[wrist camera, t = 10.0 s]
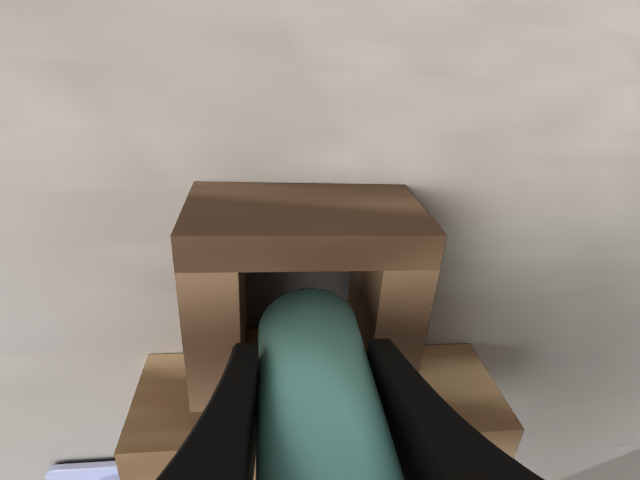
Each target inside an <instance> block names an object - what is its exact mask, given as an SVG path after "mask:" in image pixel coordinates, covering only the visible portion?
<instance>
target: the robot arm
mask: <svg viewBox="0 0 640 480" xmlns="http://www.w3.org/2000/svg"><path fill="white" fill-rule="evenodd" d="M367 357H368V360H369V364H370V367H371V370H372V374H373V377H374V380H375V383H376V387H377V390H378V393H379V397H380V400H381V403H382V407H383V410H384V413H385V416H386V420H387V423H388V426H389V430H390V433H391V436H392V440H393V443H394V446H395V450H396V453H397V456H398V459H399V463H400V466H401V469H402V473H403V476H404V479H405V480H544V479H542V478H541V477H539V476H538V475H536V474H535V473H533V472H532V471H530V470H529V469H527V468H526V467H524V466H523V465H522V464H520V463H519V462H517V461H516V460H515V459H513V458H512V457H511V456H509V455H508V454H506V453H505V452H504V451H502V450H501V449H500V448H498V447H497V446H496V445H494V444H493V443H492V442H491V441H489V440H488V439H487V438H486V437H485V436H483V435H482V434H481V433H480V432H479V431H477V430H476V429H475V428H474V427H473V426H471V425H470V424H469V423H468V422H467V421H466V420H465V419H463V418H462V417H461V416H460V415H459V414H458V413H457V412H456V411H455V410H454V409H453V408H452V407H451V406H450V405H449V404H448V403H447V402H446V401H445V400H444V399H443V398H442V397H441V396H440V395H439V394H438V393H437V392H436V391H435V390H434V389H433V388H432V387H431V386H430V384H429V383H428V382H427V381H426V380H425V379H424V378H423V377H422V376H421V375H420V374H419V372H418V371H417V370H416V369H415V368H414V367H413V366H412V364H411V363H410V362H409V361H408V360H407V359H406V357H405V356H404V355H403V354H402V353H401V351H400V350H399V349H398V348H397V347H396V345H395V344H394V343H393V342H392V341H391V340H390V339H389V338H386V339H369V343H368V351H367ZM258 366H259V350H258V342H254V343H236V344H235V345H234V346H233V348H232V352H231V355H230V358H229V360H228V363H227V365H226V368H225V370H224V372H223V375H222V377H221V379H220V381H219V383H218V385H217V387H216V389H215V391H214V393H213V395H212V397H211V399H210V400H209V402H208V404H207V406H206V407H205V409H204V411H203V412H202V414H201V416H200V418H199V419H198V421H197V423H196V424H195V426H194V427H193V429H192V431H191V432H190V434H189V435H188V437H187V438H186V440H185V441H184V443H183V444H182V445H181V447H180V448H179V450H178V451H177V452H176V454H175V455H174V457H173V458H172V459H171V461H170V462H169V463H168V464H167V466H166V467H165V468H164V470H163V471H162V472H161V473H160V475H159V476H158V477H157V479H156V480H253V478H254V468H255V459H256V430H257V394H258ZM45 478H46V480H120V478H119V474H118V470H117V465H116V461H103V462H87V463H71V464H57V465H52V466H51V467H49V469H48V470H47V473H46V475H45Z"/></svg>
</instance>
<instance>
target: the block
mask: <svg viewBox="0 0 640 480" xmlns="http://www.w3.org/2000/svg"><path fill="white" fill-rule="evenodd" d="M446 239H447V235H446V234H445V232H444V231H443V230H442V229H441V228H440V226H439V225H438V224H437V223H436V222H435V221H434V219H433V218H432V217H431V216H430V215H429V213H428V212H427V211H426V210H425V209H424V207H423V206H422V205H421V204H420V203H419V201H418V200H417V199H416V198H415V197H414V195H413V194H412V193H411V192H410V191H409V189H408V188H407V187H406V186H405V185H390V184H319V183H247V182H194V183H193V185H192V187H191V190H190V192H189V194H188V197H187V199H186V201H185V204H184V206H183V208H182V211H181V213H180V215H179V218H178V220H177V222H176V225H175V227H174V229H173V232H172V234H171V243H172V253H173V262H174V271H175V280H176V289H177V298H178V307H179V317H180V326H181V335H182V344H183V353H184V362H185V371H186V380H187V390H188V399H189V408H190V417H191V426H192V429H193V427H194V426H195V424H196V423H197V421H198V419H199V418H200V416H201V414H202V412H203V411H204V409H205V407H206V406H207V404H208V402H209V400H210V399H211V397H212V395H213V393H214V391H215V389H216V387H217V385H218V383H219V381H220V379H221V377H222V375H223V372H224V370H225V368H226V365H227V363H228V360H229V358H230V355H231V352H232V348H233V346H234V345H235V344H236V343H254V342H258V329H247V302H246V272H322V271H351V273H350V283H349V293H348V304H349V305H350V306H351V308H352V310H353V312H354V314H355V317H356V321H357V324H358V327H359V331H360V334H361V337H362V340H363V344H364V347H365V350H366V354H367V351H368V343H369V339H386V338H389V339H390V340H391V341H392V342H393V343H394V344H395V345H396V347H397V348H398V349H399V350H400V351H401V353H402V354H403V355H404V356H405V357H406V359H407V360H408V361H409V362H410V363H411V364H412V366H413V367H414V368H415V369H416V370H417V371H418V372H419V370H420V365H421V361H422V356H423V351H424V346H425V341H426V336H427V331H428V326H429V322H430V317H431V312H432V307H433V302H434V297H435V292H436V287H437V283H438V278H439V273H440V268H441V263H442V258H443V253H444V248H445V244H446Z"/></svg>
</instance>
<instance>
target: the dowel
mask: <svg viewBox="0 0 640 480" xmlns="http://www.w3.org/2000/svg"><path fill="white" fill-rule="evenodd" d="M258 350H259V366H258V394H257V430H256V480H405V479H404V476H403V473H402V469H401V466H400V463H399V459H398V456H397V453H396V450H395V446H394V443H393V440H392V436H391V433H390V430H389V426H388V423H387V420H386V416H385V413H384V410H383V407H382V403H381V400H380V397H379V393H378V390H377V387H376V383H375V380H374V377H373V374H372V370H371V367H370V364H369V360H368V357H367V354H366V350H365V347H364V344H363V340H362V337H361V334H360V331H359V327H358V324H357V321H356V317H355V314H354V312H353V310H352V308H351V306H350V305H349V304H348V303H347V302H346V301H345V300H344V299H343V298H342V297H340V296H338V295H337V294H335V293H332V292H330V291H327V290H323V289H315V288H307V289H299V290H295V291H292V292H289V293H287V294H284V295H282V296H281V297H279V298H277V299H276V300H275V301H273V302H272V303H271V304H270V305H269V306H268V307H267V309H266V310H265V311H264V313H263V315H262V317H261V319H260V322H259V328H258Z"/></svg>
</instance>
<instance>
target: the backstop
mask: <svg viewBox="0 0 640 480" xmlns="http://www.w3.org/2000/svg"><path fill="white" fill-rule="evenodd" d="M419 374H420V375H421V376H422V377H423V378H424V379H425V380H426V381H427V382H428V383H429V384H430V386H431V387H432V388H433V389H434V390H435V391H436V392H437V393H438V394H439V395H440V396H441V397H442V398H443V399H444V400H445V401H446V402H447V403H448V404H449V405H450V406H451V407H452V408H453V409H454V410H455V411H456V412H457V413H458V414H459V415H460V416H461V417H462V418H463V419H465V420H466V421H467V422H468V423H469V424H470V425H471V426H473V427H474V428H475V429H476V430H477V431H479V432H480V433H481V434H482V435H483V436H485V437H486V438H487V439H488V440H489V441H491V442H492V443H493V444H494V445H496V446H497V447H498V448H500V449H501V450H502V451H504V452H505V453H506V454H508V455H509V456H511V457H512V458H514V456H515V453H516V450H517V448H518V445H519V442H520V440H521V437H522V434H523V432H524V428H523V427H522V425H521V424H520V422H519V420H518V419H517V417H516V416H515V414H514V413H513V411H512V409H511V408H510V406H509V405H508V403H507V401H506V400H505V398H504V397H503V395H502V393H501V392H500V390H499V389H498V387H497V386H496V384H495V382H494V381H493V379H492V378H491V376H490V374H489V373H488V371H487V370H486V368H485V367H484V365H483V363H482V362H481V360H480V359H479V357H478V355H477V354H476V352H475V351H474V349H473V348H472V346H471V344H447V345H425V346H424V351H423V356H422V361H421V365H420V370H419ZM191 431H192V426H191V417H190V408H189V399H188V390H187V380H186V371H185V362H184V353H177V354H148V357H147V360H146V363H145V366H144V368H143V371H142V374H141V377H140V380H139V383H138V386H137V389H136V392H135V395H134V398H133V400H132V403H131V406H130V409H129V412H128V415H127V418H126V421H125V424H124V427H123V430H122V432H121V435H120V438H119V441H118V444H117V447H116V450H115V453H114V457H115V461H116V465H117V470H118V474H119V478H120V480H156V479H157V477H158V476H159V475H160V473H161V472H162V471H163V470H164V468H165V467H166V466H167V464H168V463H169V462H170V461H171V459H172V458H173V457H174V455H175V454H176V452H177V451H178V450H179V448H180V447H181V445H182V444H183V443H184V441H185V440H186V438H187V437H188V435H189V434H190V432H191ZM253 480H256V459H255V468H254V478H253Z"/></svg>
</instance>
